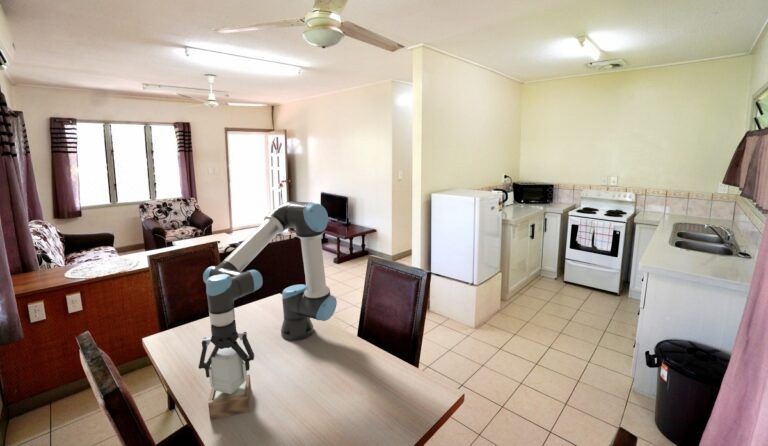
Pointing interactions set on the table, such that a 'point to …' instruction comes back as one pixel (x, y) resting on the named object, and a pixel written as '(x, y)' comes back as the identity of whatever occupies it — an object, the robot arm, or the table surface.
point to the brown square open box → (230, 401)
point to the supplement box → (227, 370)
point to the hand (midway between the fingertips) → (229, 381)
